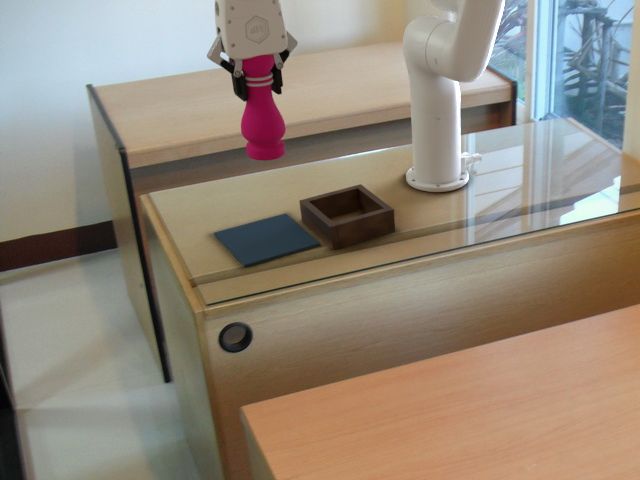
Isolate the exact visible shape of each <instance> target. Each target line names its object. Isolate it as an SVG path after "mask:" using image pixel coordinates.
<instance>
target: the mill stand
mask: <svg viewBox="0 0 640 480" xmlns="http://www.w3.org/2000/svg"><path fill="white" fill-rule="evenodd" d="M298 201H299V208H300V217H301V223H302V224H303V225H304V226H305V227H306V228H308V229H309V231H311V232H312V233H313V234H314V235H315V236H317V238H319V239H320V240H321V241H322V242H323V243H325V244H326V245H327V246H328V248H330V249H331V250H333V251H334V250H338V249H341V248H345V247H348V246H351V245H355V244H358V243H362V242H365V241H367V240H372V239H375V238H378V237H383V236H385V235H389V234H391V233H395V232H396V220H395V219H396V218H395V209H394V208H393V207H391V206H390V205H389V204H387V202H385V201H384V200H383V199H381V198H380V197H378V196H377V195H376V194H375V193H373V192H371V191H370V190H369V189H368V188H366V187H365V186H364V185H363V184H361V183H360V184H356V185H352V186H348V187H344V188H340V189H337V190H334V191H330V192H325V193H322V194H319V195H315V196H311V197H307V198H303V199H299V200H298ZM359 211H360V212H361V213H363V214H359V215H356V216H352V217H350V218H349V217H348V218H345V219H342V220H338V221H333V220H331V219H332V218H336V217H340V216H343V215H346V214H347V215H348V214H351V213H354V212H359Z"/></svg>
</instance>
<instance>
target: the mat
mask: <svg viewBox="0 0 640 480" xmlns="http://www.w3.org/2000/svg"><path fill="white" fill-rule="evenodd" d="M213 235H214V236H215V237H216V239H217V240H218V241H220V243H221V244H222V245H223V246H224V247H225V248H226V249H227V250H228V251H229V252H230V253H231V254H232V255H233V257H235V258H236V260H237V261H238V262H239V263H240V264H241V265H242V266H243V267H244V268H247V267H251V266H255V265H258V264H262V263H264V262H268V261H271V260H275V259H278V258H281V257H286V256H289V255H292V254H295V253H300V252H302V251H305V250H309V249H312V248H315V247H319V246H320V243H319V242H318V241H317V239H315V238H314V237H313V236H312V235H311V234H309V232H308V231H306V230H305V229H304V228H303V227H302V226H301V225H300V224H299V223H298V222H297V221H295V220H294V219H293V218H292V217H291V216H289V215H288V214H287V212H285V213H282V214H279V215H274V216H270V217H266V218H263V219H259V220H255V221H252V222H248V223H244V224H241V225H237V226H233V227H230V228H227V229H226V228H225V229H222V230H219V231H215V232H213Z"/></svg>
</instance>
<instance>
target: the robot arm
mask: <svg viewBox="0 0 640 480" xmlns="http://www.w3.org/2000/svg"><path fill="white" fill-rule="evenodd" d="M427 1H428V2H429V3H430V4H431V5H432V6H434V7H436V8H438V9H440V10H442V11H444V12H447V13H450V14H454V15H456V21H452V20H449V19H446V18H443V17H440V16H436V15H426V14H425V15H420V16H417V17H415V18H413V19H412V20H411V21H410V22H409V23H408V25H406V28H405V30H404V32H403V36H402V53H403V57H404V62H405V67H406V70H407V76H408V77H407V78H408V84H409V98H410V120H411V122H410V123H411V124H410V125H411V144H412V145H411V146H412V147H411V148H412V167H410V168H409V169H408V170H407V171H406V173H405V180H406V183H407V184H408V185H409V186H411V187H412V188H414V189H416V190H419V191H423V192H429V193H445V192H451V191H454V190H455V191H456V190H458V189H460V188H463V187H464V186H465V185H466V184H467V183H468V182H469V179H470V178H469V176H470V175H469V170H467V169H468V168H469V166H471V165H477V164H480V163H481V162H482V161H483V159H482V156H481V154H480V153H473V154H469V152H468V151H465V152H462V151H461V150H462V147H461V146H462V145H461V143H462V140H461V137H462V136H461V90H460V85H459V83H460V84H469V83H474V82H475V81H477V80H478V79H479V78H481V76H482V75H483V74H484V73H485V70H486V69H487V66H488V64H489V61H490V58H491V55H492V52H493V48H494V45H495V42H496V37H497V33H498V30H499V27H500V23H501V18H502V16H503V12H504V8H505V4H506V3H505V2H506V0H427ZM284 16H285V15H284V13H283V7H282V4H281V1H280V0H214V22H215V33H216V37H215V39H214V41H213V42H212V44H211V46H210V48H209V50H208V52H207V54H206V58H207V59H208V60H209V61H210V62H212V63H214V64H216V65H218V66H220V67H221V68H223V70H225V71H227V72H228V73H229V74H230V75H231V82H232V89H233V94H234V95H235V96H237V98H239V99H240V100H241V101H242V102H245V103H246V101H248V93H247V86H246V79H245V77H244V76H243V75H242V73H243V72H242V60H243V59H249V58H253V57H256V56H260V55H271V54H273V55H274V66H273V68H272V69H271V72H272V73H273V76H272V77H273V80H274V81H273V83H272V84H271V90H272V93H274V94H276V95H278V96H279V95H282V94H283V92H282V88H283V87H284V80H283V73H282V70H283V69H284V67H285V66H284V65H285V62H287V60H288V58H289V57H290V55H291V53H292V52H293V51H294V50H295V48H297V46H298V41H297V40H296V39H295V38H294V36H293V35H292V34H291V33H290V32H289V31H288V30H287V27H286V26H287V25H286V22H285V17H284ZM221 53H224V54H226V56H227V57H228V60H226V59H225V58H223V57H222V56H221Z"/></svg>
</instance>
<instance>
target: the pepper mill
mask: <svg viewBox="0 0 640 480" xmlns="http://www.w3.org/2000/svg"><path fill="white" fill-rule="evenodd" d="M273 66H274V55H273V54H271V55H260V56H256V57H253V58H249V59H243V60H242V75H243V76H244V77H245V79H246V86H247V93H248V101H245V107H244V111H243V113H242V117H241V121H240V132H241V135H242V137H243V138H244V139H245V140H246V141H247V142H246V144H245V148H246V156H247V157H248V158H250V159H251V160H255V161H263V162H264V161H265V162H266V161H273V160H277V159H280V158H282V157H283V156H284V155H285V153H286V149H285V142H284V140H282V139H283V138H284V136H285V134H286V130H287V129H286V124H285V120H284V117H283V115H282V113H281V112H280V110H279V108H278V107H277V104H276V102H275V100H274V96H273V91H272V90H271V84H272V83H273V81H274V80H273V77H272V76H273V73H272V72H271V69H272V68H273Z"/></svg>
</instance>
